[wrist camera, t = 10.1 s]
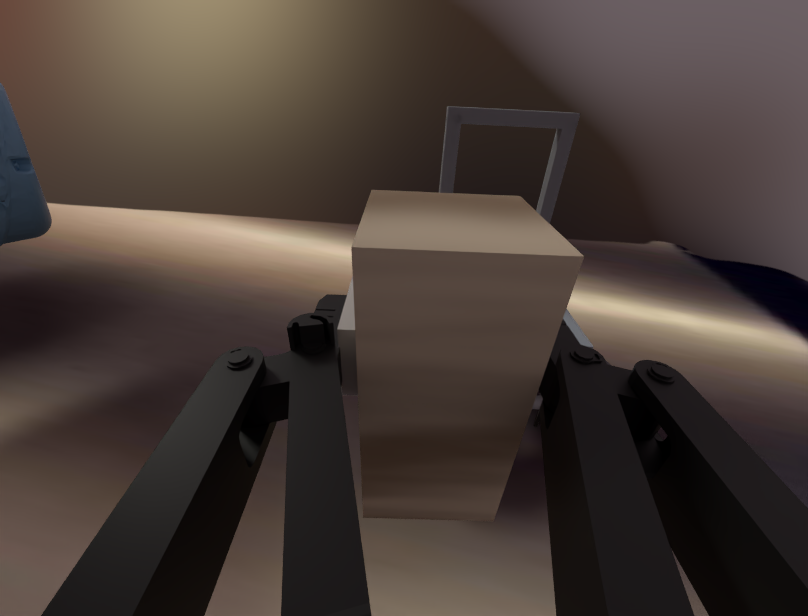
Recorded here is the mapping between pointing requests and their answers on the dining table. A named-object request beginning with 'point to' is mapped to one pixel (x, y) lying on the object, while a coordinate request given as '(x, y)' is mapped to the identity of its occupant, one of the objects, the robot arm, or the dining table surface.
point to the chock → (451, 345)
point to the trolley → (554, 171)
